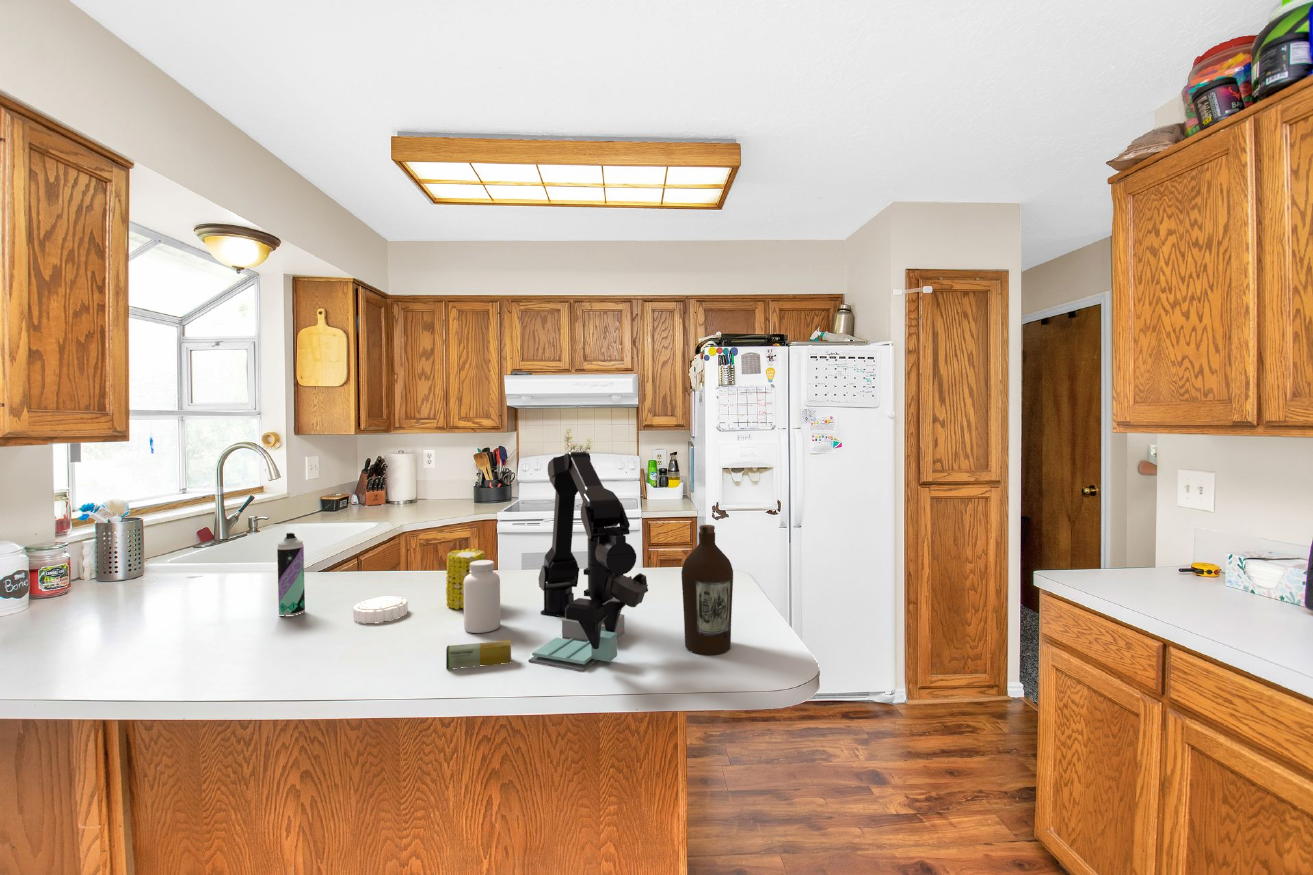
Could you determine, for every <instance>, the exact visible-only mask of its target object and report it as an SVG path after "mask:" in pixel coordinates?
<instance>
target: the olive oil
mask: <svg viewBox="0 0 1313 875" xmlns="http://www.w3.org/2000/svg"><path fill="white" fill-rule="evenodd" d="M698 529H699V532H698V545H697V546H696V547H695V548H694V549H693V550H692V551H691V552H690V553H689V555H687V557H686V558H684V561H683V564H682V568H681V589H682V604H683V607H682V608H683V624H684V625H683V626H684V630H683V631H684V647H685V649H686V650H688V651H689V652H692V653H693V654H697V655H703V656H715V655H721V654H725V653H726V652H728V651H730V649H731V645H732V643H731V642H732V641H731V639H732V613H733V610H732V609H733V589H734V586H733V585H734V569H733V566H732V563H731V561H730V559H729V558H728V557H727V555H726V554H725V553H724V552H723V551H722V550H721V549H720V548H719V546H718V545H716V532H715V529H716V527H715V525H713V524H700V525H699V526H698Z"/></svg>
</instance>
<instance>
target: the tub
mask: <svg viewBox="0 0 1313 875" xmlns="http://www.w3.org/2000/svg"><path fill="white" fill-rule="evenodd" d="M561 629H562V630H561V633H562V634H561V635H562V637H561V638H563V639H571V638H572V639H573V640H576V641H582V642H587V641H589V640H588V638H587V636H586V634H585V632H584V630H583V628H582V627H581V625H580V623H579V622H578V620H571V619H566V618H564V619H561ZM601 631H606V629H605V625H604V621H603V622H602V624H601ZM625 632H626V631H625V614H622V613H620V616H619V620H618V623H617V627H616V631H615V633H617V639H618V638H620V637H621V636H622V635H624V634H625Z"/></svg>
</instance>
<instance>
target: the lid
mask: <svg viewBox="0 0 1313 875" xmlns="http://www.w3.org/2000/svg"><path fill="white" fill-rule="evenodd" d="M531 655H532V657H534V656H537V657H543V658H549V659H555V660H561V661H567V662H573V663H579V664H585V663H587V662H588V661H589V660H591V659H596V661H602V662H603V661H604V662H609V663H610V662H612V661H613V660H614V659H616V657H618V638H617V633H614V632H607V631H601V635H600V644H599V648H598V649H593V648H592V646H591V644H590V642H589V641H587V642H582V641H576V640H573V639H572V638H571V639H563V638H562V637H555V638H553V639H552V640H550V641H548V642H547V643H545V644H544V645H541V647H539V648H537V649H535V650H534V651H533V652H532V653H531Z"/></svg>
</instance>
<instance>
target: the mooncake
mask: <svg viewBox="0 0 1313 875" xmlns="http://www.w3.org/2000/svg"><path fill="white" fill-rule="evenodd" d="M408 604H409V601H408V600H407V598H404V597H401V596H389V595H388V596H387V595H386V596H378V597H375V598H371V599H370V598H369V599H366V600H363V601H360V602H358V603H357V604H355V605H354V606H353V607H352V613H353V614H352V615H353V616H352V617H353V618H354V619H353V618H352V619H353V622H355V621H357V622H362V623H375V622H383V621H390V620H392V619H397V618H398V617H402V616H403V617H405V616H406V614H408V613H409V606H408ZM407 612H408V613H407ZM404 615H405V616H404ZM403 617H402V618H403ZM398 619H399V618H398ZM398 619H397V620H398ZM392 621H393V620H392ZM357 622H356V623H357ZM390 622H391V621H390ZM362 623H361V624H362ZM383 623H384V622H383ZM375 624H376V623H375Z"/></svg>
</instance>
